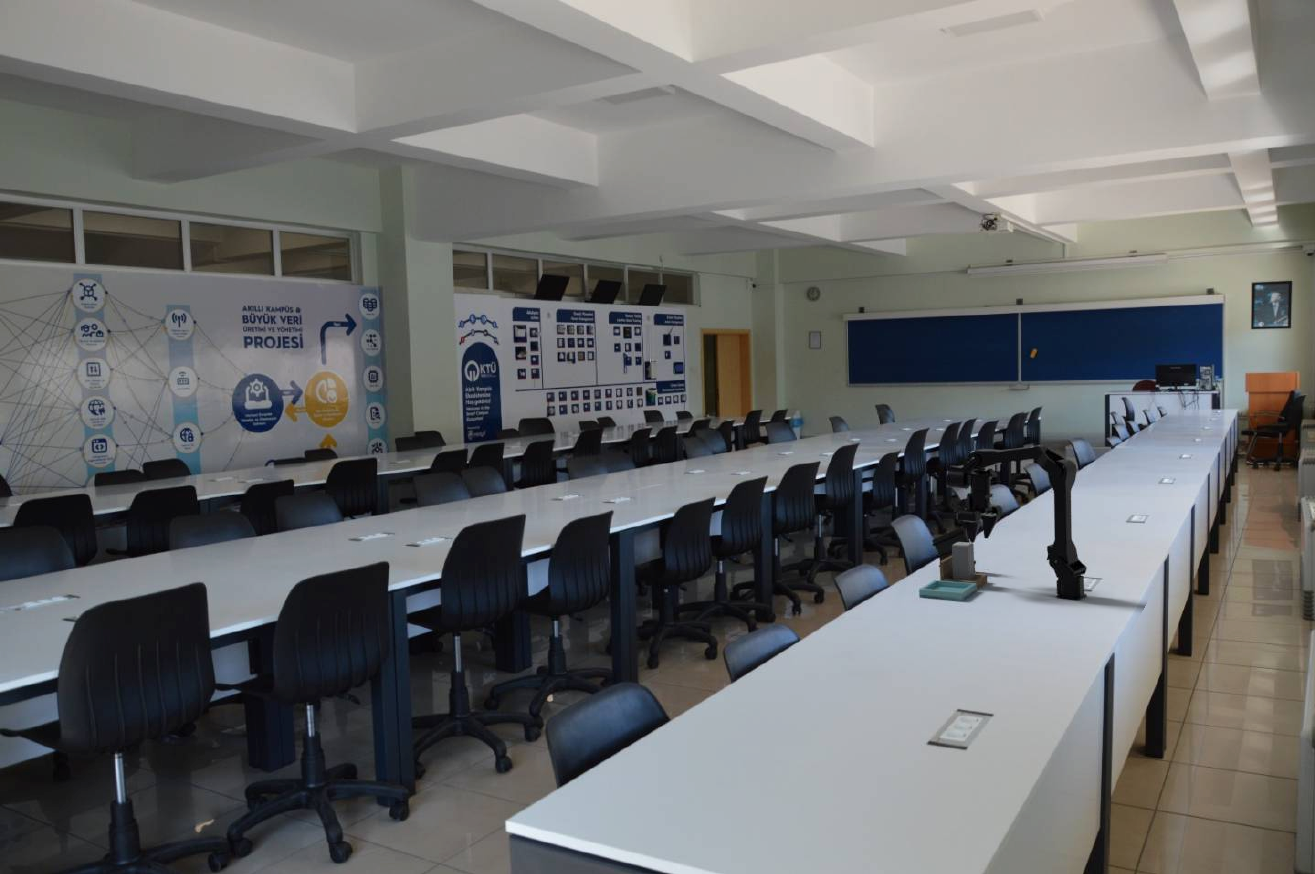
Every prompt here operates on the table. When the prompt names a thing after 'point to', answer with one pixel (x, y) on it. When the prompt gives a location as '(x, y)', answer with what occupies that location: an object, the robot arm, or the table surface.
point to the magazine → (950, 542)
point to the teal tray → (948, 590)
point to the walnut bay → (947, 573)
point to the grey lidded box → (963, 561)
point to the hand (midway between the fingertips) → (979, 540)
